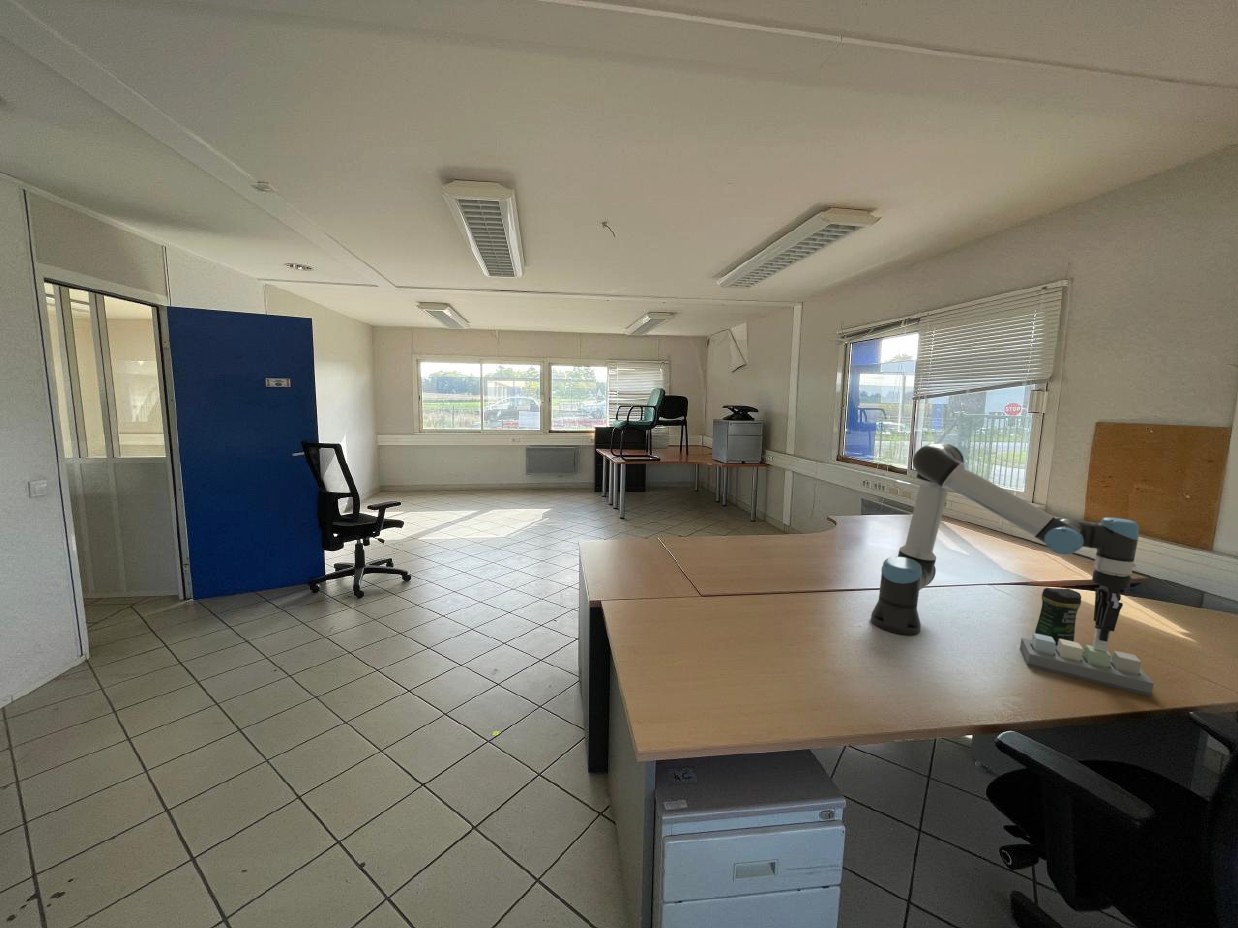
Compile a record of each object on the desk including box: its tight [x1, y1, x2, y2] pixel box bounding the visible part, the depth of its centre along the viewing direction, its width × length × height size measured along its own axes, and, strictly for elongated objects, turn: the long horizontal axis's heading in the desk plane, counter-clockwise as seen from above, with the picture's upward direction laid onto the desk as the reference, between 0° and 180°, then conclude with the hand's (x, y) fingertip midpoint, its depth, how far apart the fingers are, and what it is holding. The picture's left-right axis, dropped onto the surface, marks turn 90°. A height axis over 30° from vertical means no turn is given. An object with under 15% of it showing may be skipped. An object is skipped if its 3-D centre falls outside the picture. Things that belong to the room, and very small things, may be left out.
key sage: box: [1083, 644, 1112, 668], centre depth 138 cm, size 4×4×4 cm
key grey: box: [1111, 650, 1142, 675], centre depth 134 cm, size 4×4×4 cm
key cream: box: [1057, 639, 1084, 661], centre depth 141 cm, size 4×4×4 cm
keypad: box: [1019, 637, 1155, 698], centre depth 140 cm, size 26×12×4 cm, turn 58°
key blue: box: [1031, 632, 1056, 655], centre depth 144 cm, size 4×4×4 cm
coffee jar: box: [1034, 587, 1082, 646], centre depth 157 cm, size 10×8×19 cm
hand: (1099, 649), depth 137 cm, fingers closed
